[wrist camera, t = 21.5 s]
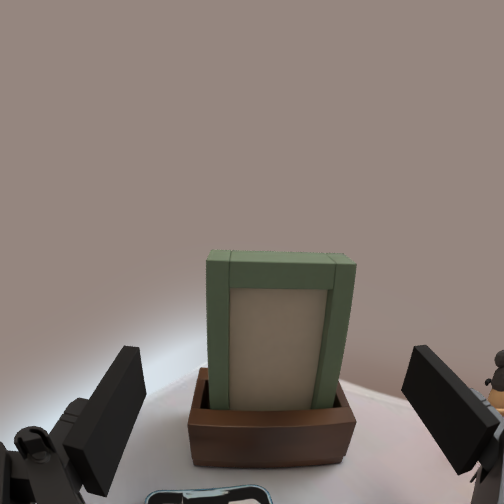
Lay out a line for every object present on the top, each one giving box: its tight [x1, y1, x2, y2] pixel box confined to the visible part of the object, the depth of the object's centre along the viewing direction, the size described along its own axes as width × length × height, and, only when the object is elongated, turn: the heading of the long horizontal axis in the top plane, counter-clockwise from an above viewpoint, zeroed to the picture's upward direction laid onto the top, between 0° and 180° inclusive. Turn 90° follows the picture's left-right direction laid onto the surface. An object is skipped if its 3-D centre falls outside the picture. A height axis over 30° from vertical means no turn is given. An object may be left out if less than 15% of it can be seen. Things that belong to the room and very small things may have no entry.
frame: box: [206, 250, 356, 411], centre depth 19 cm, size 8×2×13 cm, turn 91°
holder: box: [188, 368, 356, 468], centre depth 20 cm, size 10×6×4 cm, turn 91°
